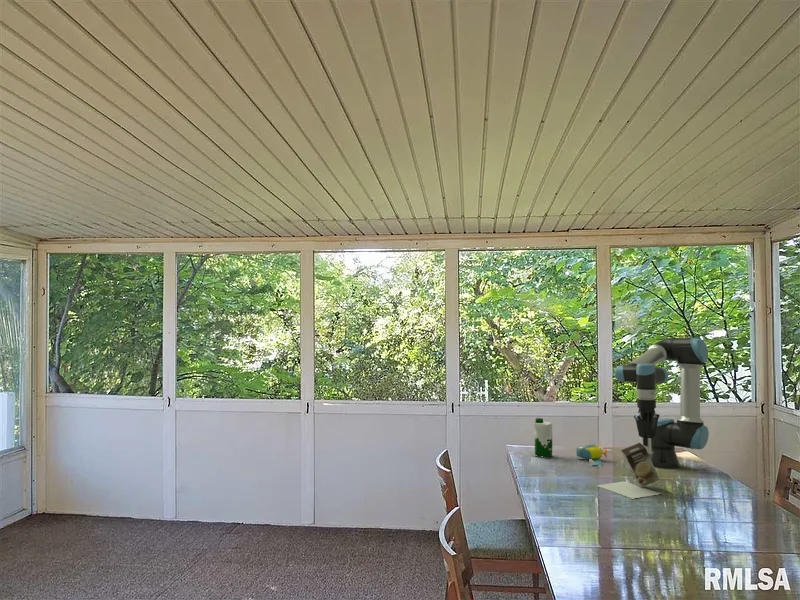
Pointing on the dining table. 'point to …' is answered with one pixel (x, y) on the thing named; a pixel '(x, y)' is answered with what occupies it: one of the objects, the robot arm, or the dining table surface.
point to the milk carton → (543, 438)
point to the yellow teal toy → (591, 453)
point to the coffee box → (640, 465)
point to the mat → (628, 489)
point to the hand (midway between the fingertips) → (647, 453)
